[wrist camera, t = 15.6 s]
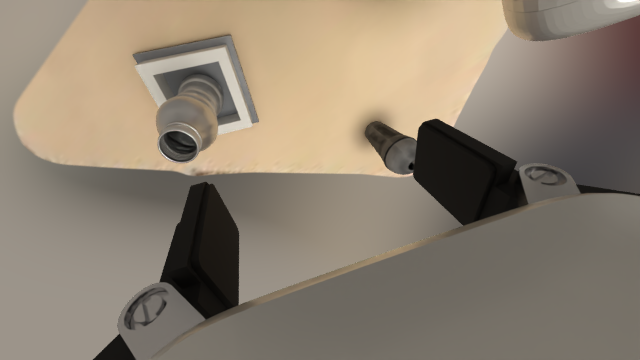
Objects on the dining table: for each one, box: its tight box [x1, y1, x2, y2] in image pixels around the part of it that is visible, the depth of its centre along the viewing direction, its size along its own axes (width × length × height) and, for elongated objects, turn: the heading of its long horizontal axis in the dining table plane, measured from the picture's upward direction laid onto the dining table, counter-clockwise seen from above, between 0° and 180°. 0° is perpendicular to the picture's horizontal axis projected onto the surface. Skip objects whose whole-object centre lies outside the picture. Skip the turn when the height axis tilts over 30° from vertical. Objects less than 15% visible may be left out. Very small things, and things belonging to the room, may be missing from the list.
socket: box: [133, 35, 259, 135], centre depth 37 cm, size 14×14×5 cm
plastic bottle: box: [156, 74, 224, 163], centre depth 31 cm, size 6×7×20 cm
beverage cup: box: [365, 121, 417, 175], centre depth 45 cm, size 7×7×20 cm
